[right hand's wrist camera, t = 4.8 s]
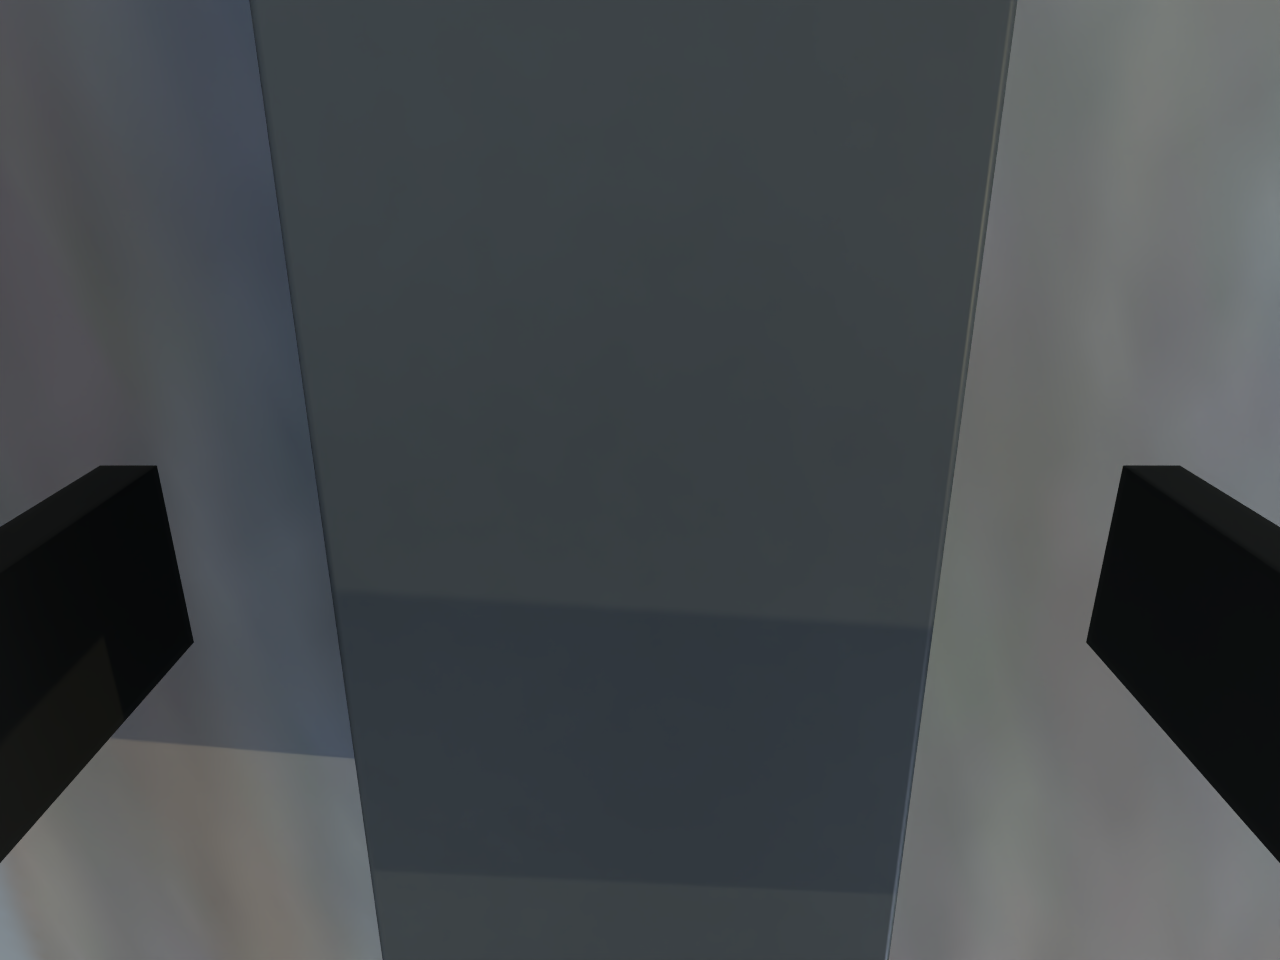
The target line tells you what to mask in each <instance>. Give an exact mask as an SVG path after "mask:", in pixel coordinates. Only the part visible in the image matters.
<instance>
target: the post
mask: <svg viewBox="0 0 1280 960" xmlns="http://www.w3.org/2000/svg"><path fill="white" fill-rule="evenodd" d="M1016 6H1017V0H250V7H251V15H252V22H253V29H254V36H255V43H256V51H257V58H258V65H259V72H260V79H261V87H262V94H263V101H264V108H265V115H266V123H267V130H268V137H269V144H270V151H271V159H272V166H273V173H274V180H275V187H276V195H277V202H278V209H279V216H280V223H281V231H282V238H283V245H284V252H285V259H286V267H287V274H288V281H289V288H290V295H291V303H292V310H293V317H294V324H295V331H296V339H297V346H298V353H299V360H300V367H301V375H302V382H303V389H304V396H305V403H306V411H307V418H308V425H309V432H310V439H311V447H312V454H313V461H314V468H315V475H316V483H317V490H318V497H319V504H320V511H321V519H322V526H323V533H324V540H325V547H326V555H327V562H328V569H329V576H330V583H331V591H332V598H333V605H334V612H335V619H336V627H337V634H338V641H339V648H340V655H341V663H342V670H343V677H344V684H345V691H346V699H347V706H348V713H349V720H350V727H351V735H352V742H353V749H354V756H355V763H356V771H357V778H358V785H359V792H360V799H361V807H362V814H363V821H364V828H365V835H366V843H367V850H368V857H369V864H370V871H371V879H372V886H373V893H374V900H375V907H376V915H377V922H378V929H379V936H380V943H381V951H382V958H383V960H889V953H890V946H891V938H892V931H893V923H894V916H895V908H896V901H897V893H898V886H899V878H900V871H901V864H902V856H903V849H904V841H905V834H906V826H907V819H908V811H909V804H910V796H911V789H912V782H913V774H914V767H915V759H916V752H917V744H918V737H919V729H920V722H921V714H922V707H923V699H924V692H925V685H926V677H927V670H928V662H929V655H930V647H931V640H932V632H933V625H934V617H935V610H936V603H937V595H938V588H939V580H940V573H941V565H942V558H943V550H944V543H945V535H946V528H947V521H948V513H949V506H950V498H951V491H952V483H953V476H954V468H955V461H956V453H957V446H958V438H959V431H960V424H961V416H962V409H963V401H964V394H965V386H966V379H967V371H968V364H969V356H970V349H971V342H972V334H973V327H974V319H975V312H976V304H977V297H978V289H979V282H980V274H981V267H982V259H983V252H984V245H985V237H986V230H987V222H988V215H989V207H990V200H991V192H992V185H993V177H994V170H995V163H996V155H997V148H998V140H999V133H1000V125H1001V118H1002V110H1003V103H1004V95H1005V88H1006V81H1007V73H1008V66H1009V58H1010V51H1011V43H1012V36H1013V28H1014V21H1015V13H1016Z"/></svg>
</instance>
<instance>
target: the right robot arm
mask: <svg viewBox="0 0 1280 960" xmlns="http://www.w3.org/2000/svg"><path fill="white" fill-rule="evenodd" d="M193 643H194V641H193V636H192V632H191V627H190V622H189V617H188V613H187V608H186V603H185V598H184V593H183V589H182V584H181V579H180V574H179V570H178V565H177V560H176V555H175V550H174V546H173V541H172V536H171V531H170V527H169V522H168V517H167V512H166V507H165V503H164V498H163V493H162V488H161V483H160V479H159V474H158V469H157V466H99V467H97V468H96V469H94V470H92V471H91V472H89V473H87V474H86V475H84V476H83V477H81V478H79V479H78V480H76V481H74V482H73V483H71V484H70V485H68V486H66V487H65V488H63V489H61V490H60V491H58V492H56V493H55V494H53V495H52V496H50V497H48V498H47V499H45V500H43V501H42V502H40V503H39V504H37V505H35V506H34V507H32V508H30V509H29V510H27V511H26V512H24V513H22V514H21V515H19V516H17V517H16V518H14V519H13V520H11V521H9V522H8V523H6V524H4V525H3V526H1V527H0V863H1V861H2V860H3V859H4V858H5V857H6V856H7V855H8V853H9V852H10V851H11V850H12V849H13V848H14V847H15V845H16V844H17V843H18V842H19V841H20V840H21V839H22V837H23V836H24V835H25V834H26V833H27V832H28V831H29V829H30V828H31V827H32V826H33V825H34V824H35V823H36V821H37V820H38V819H39V818H40V817H41V816H42V815H43V814H44V812H45V811H46V810H47V809H48V808H49V807H50V806H51V804H52V803H53V802H54V801H55V800H56V799H57V798H58V796H59V795H60V794H61V793H62V792H63V791H64V790H65V788H66V787H67V786H68V785H69V784H70V783H71V782H72V780H73V779H74V778H75V777H76V776H77V775H78V774H79V772H80V771H81V770H82V769H83V768H84V767H85V766H86V764H87V763H88V762H89V761H90V760H91V759H92V758H93V757H94V755H95V754H96V753H97V752H98V751H99V750H100V749H101V747H102V746H103V745H104V744H105V743H106V742H107V741H108V739H109V738H110V737H111V736H112V735H113V734H114V733H115V731H116V730H117V729H118V728H119V727H120V726H121V725H122V723H123V722H124V721H125V720H126V719H127V718H128V717H129V715H130V714H131V713H132V712H133V711H134V710H135V709H136V707H137V706H138V705H139V704H140V703H141V702H142V701H143V700H144V698H145V697H146V696H147V695H148V694H149V693H150V692H151V690H152V689H153V688H154V687H155V686H156V685H157V684H158V682H159V681H160V680H161V679H162V678H163V677H164V676H165V674H166V673H167V672H168V671H169V670H170V669H171V668H172V666H173V665H174V664H175V663H176V662H177V661H178V660H179V658H180V657H181V656H182V655H183V654H184V653H185V652H186V650H187V649H188V648H189V647H190V646H191V645H192V644H193ZM1086 643H1087V644H1088V645H1089V646H1090V647H1091V648H1092V649H1093V651H1094V652H1095V653H1096V654H1097V655H1098V656H1099V657H1100V659H1101V660H1102V661H1103V662H1104V663H1105V664H1106V665H1107V666H1108V668H1109V669H1110V670H1111V671H1112V672H1113V673H1114V674H1115V676H1116V677H1117V678H1118V679H1119V680H1120V681H1121V682H1122V684H1123V685H1124V686H1125V687H1126V688H1127V689H1128V690H1129V692H1130V693H1131V694H1132V695H1133V696H1134V697H1135V698H1136V700H1137V701H1138V702H1139V703H1140V704H1141V705H1142V706H1143V708H1144V709H1145V710H1146V711H1147V712H1148V713H1149V714H1150V716H1151V717H1152V718H1153V719H1154V720H1155V721H1156V722H1157V723H1158V725H1159V726H1160V727H1161V728H1162V729H1163V730H1164V731H1165V733H1166V734H1167V735H1168V736H1169V737H1170V738H1171V739H1172V741H1173V742H1174V743H1175V744H1176V745H1177V746H1178V747H1179V749H1180V750H1181V751H1182V752H1183V753H1184V754H1185V755H1186V757H1187V758H1188V759H1189V760H1190V761H1191V762H1192V763H1193V765H1194V766H1195V767H1196V768H1197V769H1198V770H1199V771H1200V773H1201V774H1202V775H1203V776H1204V777H1205V778H1206V779H1207V780H1208V782H1209V783H1210V784H1211V785H1212V786H1213V787H1214V788H1215V790H1216V791H1217V792H1218V793H1219V794H1220V795H1221V796H1222V798H1223V799H1224V800H1225V801H1226V802H1227V803H1228V804H1229V806H1230V807H1231V808H1232V809H1233V810H1234V811H1235V812H1236V814H1237V815H1238V816H1239V817H1240V818H1241V819H1242V820H1243V822H1244V823H1245V824H1246V825H1247V826H1248V827H1249V828H1250V830H1251V831H1252V832H1253V833H1254V834H1255V835H1256V836H1257V837H1258V839H1259V840H1260V841H1261V842H1262V843H1263V844H1264V845H1265V847H1266V848H1267V849H1268V850H1269V851H1270V852H1271V853H1272V855H1273V856H1274V857H1275V858H1276V859H1277V860H1278V861H1279V863H1280V527H1279V526H1277V525H1275V524H1274V523H1272V522H1271V521H1269V520H1267V519H1266V518H1264V517H1262V516H1261V515H1259V514H1258V513H1256V512H1254V511H1253V510H1251V509H1249V508H1248V507H1246V506H1245V505H1243V504H1241V503H1240V502H1238V501H1236V500H1235V499H1233V498H1232V497H1230V496H1228V495H1227V494H1225V493H1223V492H1222V491H1220V490H1219V489H1217V488H1215V487H1214V486H1212V485H1210V484H1209V483H1207V482H1206V481H1204V480H1202V479H1201V478H1199V477H1197V476H1196V475H1194V474H1193V473H1191V472H1189V471H1188V470H1186V469H1184V468H1183V467H1181V466H1123V469H1122V474H1121V478H1120V483H1119V488H1118V493H1117V498H1116V502H1115V507H1114V512H1113V517H1112V522H1111V526H1110V531H1109V536H1108V541H1107V545H1106V550H1105V555H1104V560H1103V565H1102V569H1101V574H1100V579H1099V584H1098V588H1097V593H1096V598H1095V603H1094V608H1093V612H1092V617H1091V622H1090V627H1089V632H1088V636H1087V641H1086Z"/></svg>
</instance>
